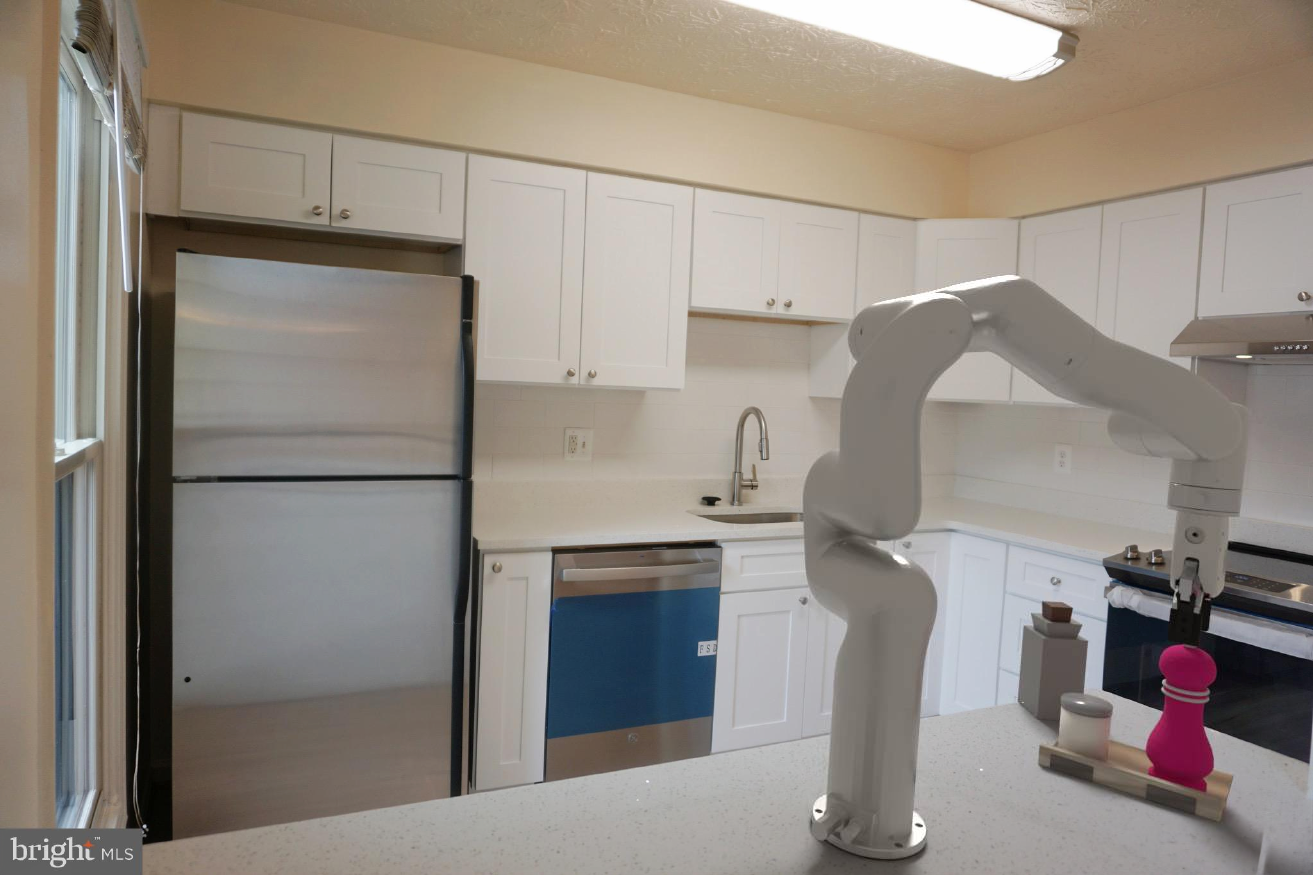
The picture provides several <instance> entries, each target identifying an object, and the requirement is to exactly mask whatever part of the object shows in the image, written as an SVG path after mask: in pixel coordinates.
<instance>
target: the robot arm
mask: <svg viewBox="0 0 1313 875" xmlns="http://www.w3.org/2000/svg"><path fill="white" fill-rule="evenodd" d="M847 344H848V349H849V351H850V354H851V356H852V357H853V359H854V360H855V362H856V363H855V365H854V366H853V368H852V370H851V372H850V373H849V376H848V377H847V381H846V383H845V386H844V389H843V393H842V398H841V404H840V412H839V413H840V414H839V417H840V418H839V448H836V449H835V448H834V449H832V450H829V451H828V452H825V453H823V454H822V455H821V456H819V458H817V459H816V460H815V461H814V462H813V464H812V466H811V467H810V469H809V471H808V472H807V476H806V478H805V482H804V485H803V490H802V519H803V520H802V522H803V523H802V524H803V541H804V542H803V544H804V545H803V547H804V563H805V564H804V565H805V568H804V569H805V574H806V580H807V584H808V587H809V590H810V593H811V595H812V596H813V598H814V599H815V601H816V602H817V603H818V604H819V605H821V606H822V607H823V608H824V609H825V610H826V611H828V612H829V613H831V614H833V615H834V616H836V617H838V618H839V619H841V620H842V621H843V622H845V623H846V626H847V628H846V631H845V636H844V638H843V640H842V643H841V645H840V647H839V650H838V652H837V654H836V659H835V663H834V664H835V665H834V671H833V683H832V684H833V685H832V686H833V688H832V690H833V691H832V692H833V693H832V705H831V706H832V707H831V708H832V709H831V719H830V720H831V722H830V736H829V739H830V740H829V752H828V764H827V765H828V768H827V785H826V794H823V795H821V796H820V797H818V798H817V799H816V800H815V802H814V803H813V804H812V807H811V815H810V816H811V823H812V824H811V830H810V831H811V833H812V835H813V836H814V838H815V839H817V840H819V841H825V840H826V841H827V842H829V843H830V844H832V845H834V846H836V847H837V848H839V849H841V850H844V851H846V852H848V853H851V854H854V855H858V856H861V857H865V858H866V857H867V858H871V859H879V860H896V859H897V860H898V859H902V858H907V857H911V856H913V855H915V854H917V853H919V852H920V851H921V850H922V849H923V848H925V845H926V843H927V835H928V828H927V825H926V823H925V822H924V820H923V818H922V817H921V816H920V815H919V813H917V812H916V811H915V810H914V809H915V808H914V807H915V805H914V804H915V796H916V795H915V793H916V782H917V781H916V779H917V766H918V752H919V751H918V750H919V740H920V738H919V737H920V726H921V713H922V695H923V682H924V681H923V680H924V670H925V664H926V658H927V651H928V646H929V643H930V639H931V636H932V632H933V629H934V627H935V626H934V625H935V623H936V618H937V613H938V601H939V600H938V595H937V594H938V593H937V590H936V587H935V584H934V582H933V580H932V578H931V577H930V575H929V574H928V572H927V571H926V570H925V569H924V568H923V567H922V566H921V565H919V564H918V563H916V562H915V561H913V560H912V559H911V558H909V557H907V556H905V555H902V554H900V553H898V552H895V551H893V550H890V549H887V548H885V547H882V546H879V545H877V544H878V543H877V542H878V541H880V542H894V541H895V542H896V541H899V540H903V539H904V538H906V537H907V536H909V535H910V534H912V532H913V531H914V530H915V529H916V527H917V525H918V524H919V522H920V518H921V515H922V508H923V506H922V505H923V504H922V503H923V502H922V501H923V499H922V498H923V494H922V493H923V491H922V489H923V488H922V485H923V484H922V483H923V482H922V456H921V454H922V453H921V425H922V424H921V422H922V414H923V407H924V405H925V404H924V403H925V401H926V399H927V397H928V395H929V392H930V391H931V389H932V388H933V386H934V385H935V383H936V382H937V381H938V379H939V378H940V377H941V376H942V375H943V374H944V373H945V372H946V371H947V370H948V369H950V368H951V367H952V366H953V365H954V364H955V363H956V362H958V361H959V360H960V359H961V358H962V357H963V355H964V354H965V353H967V354H968V353H984V352H989V353H992V354H995V355H996V356H998V357H1000V359H1003V360H1004V361H1005V362H1006V363H1008V364H1010V365H1011V366H1013V367H1014V368H1016V369H1017V370H1018V371H1020V372H1021V373H1023V374H1024V375H1026V376H1027V377H1029V378H1030V379H1031V380H1033V381H1034V382H1035V383H1036V384H1038V385H1039V386H1041V387H1042V388H1044V389H1045V390H1046V391H1048V392H1049V393H1050V394H1052V395H1054V396H1055V397H1058V398H1061V399H1063V400H1066V401H1069V402H1072V403H1075V404H1079V405H1081V406H1085V407H1091V408H1095V409H1099V410H1105V411H1109V412H1110V413H1109V415H1108V418H1107V424H1106V428H1107V432H1108V433H1107V434H1108V435H1109V438H1110V439H1111V441H1112V442H1113V443H1114V444H1115V445H1116V447H1118V448H1120V449H1121V450H1123V451H1124V452H1127V453H1129V454H1132V455H1136V456H1137V455H1138V456H1143V457H1151V458H1152V457H1153V458H1160V459H1161V458H1162V459H1165V458H1166V459H1171V464H1170V474H1169V483H1168V492H1167V502H1166V509H1168V510H1173V511H1175V512H1176V516H1175V526H1174V531H1173V532H1174V533H1173V541H1172V550H1171V551H1172V552H1171V561H1170V562H1171V563H1170V578H1169V579H1170V580H1169V583H1170V584H1169V585H1170V587H1171V589H1173V590H1174V594H1173V598H1172V604H1171V607H1170V608H1169V609H1170V610H1169V618H1168V627H1167V628H1168V629H1167V635H1166V638H1167V640H1168V641H1169V642H1173V643H1177V644H1180V645H1183V644H1185V645H1190V646H1195V647H1196V646H1197V647H1198V646H1199V645H1200V641H1201V640H1200V639H1201V632H1204V633H1206V632H1208V631H1209V630H1210V623H1211V613H1212V605H1213V601H1212V600H1211V598H1216V597H1218V596H1219V595H1220V594H1221V593H1222V591H1223V590H1224V588H1225V580H1226V578H1225V577H1226V568H1227V567H1226V566H1227V556H1228V547H1229V535H1230V534H1229V533H1230V518H1239V517H1240V516H1241V506H1242V497H1243V496H1242V495H1243V486H1244V478H1245V470H1246V462H1247V453H1248V452H1247V451H1248V444H1249V435H1250V426H1251V412H1250V410H1249V408H1248V407H1247V406H1245V404H1244V405H1243V404H1240V403H1237V402H1231V401H1230V399H1229V398H1228V397H1227V396H1226V395H1225V394H1223V393H1222V392H1221V391H1220V390H1219V389H1217V388H1216V387H1214V386H1213V385H1212V384H1210V383H1209V382H1208V381H1206V379H1204V378H1203V377H1201V376H1200V375H1198V374H1197V373H1195V372H1193V371H1191V370H1190V369H1187V368H1186V367H1184V366H1182V365H1179V364H1177V363H1174V362H1173V361H1170V360H1168V359H1165V358H1162V357H1159V356H1157V355H1154V354H1152V353H1149V352H1147V351H1145V350H1141V349H1139V348H1137V347H1135V346H1132V345H1130V344H1127V343H1124V342H1120V341H1117V340H1115V339H1112V338H1110V337H1108V336H1106V335H1105V334H1104V333H1102V332H1101V331H1099V330H1098V329H1096V328H1095V327H1094V326H1093V325H1092V324H1090V323H1089V322H1087V321H1086V320H1085V319H1083V318H1082V317H1080V316H1079V315H1078V314H1077V313H1075V312H1074V311H1073V310H1071V309H1070V308H1069V307H1067V306H1066V305H1065V304H1064V303H1062V302H1061V301H1060V300H1058V299H1057V298H1056V297H1054V296H1053V295H1052V294H1050V293H1049V292H1048V291H1046V290H1045V289H1044V288H1042V286H1039V285H1038V284H1037V283H1035V282H1033V281H1032V280H1030V279H1028V278H1025V277H1022V276H1018V275H1003V276H996V277H991V278H986V279H985V278H984V279H979V280H975V281H968V282H964V283H960V284H956V285H952V286H949V287H945V288H941V289H937V290H933V291H929V292H924V293H920V294H919V293H918V294H916V295H910V296H906V297H900V298H896V299H890V300H886V301H885V300H884V301H881V302H875V303H873V304H871V305H869V306H866V307H865V308H863V309H862V310H861V311H860V312H859V313H857V315H856V316H855V317H854V319H853V320H852V322H851V324H850V326H849V329H848V334H847ZM1197 647H1196V648H1197Z"/></svg>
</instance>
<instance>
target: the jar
mask: <svg viewBox="0 0 1313 875" xmlns="http://www.w3.org/2000/svg"><path fill="white" fill-rule="evenodd" d="M1113 713H1114V706H1113V704H1112V703H1111V702H1109V701H1108V700H1107V699H1104V698H1101V697H1098V696H1095V695H1092V694H1087V693H1084V694H1082V693H1065V694H1063V695H1062V696H1061V715H1060V720H1059V727H1058V739H1057V741H1058V748H1061V749H1064V750H1067V751H1070V752H1074V753H1077V754H1080V755H1084V756H1087V757H1090V758H1093V759H1097V760H1100V761H1103V762H1107V761H1108V750H1109V740H1110V736H1111V726H1112V725H1111V724H1112V716H1113Z"/></svg>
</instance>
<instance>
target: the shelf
mask: <svg viewBox="0 0 1313 875" xmlns="http://www.w3.org/2000/svg"><path fill="white" fill-rule="evenodd" d="M1038 747H1039V749H1038V760H1037V764H1038V765H1041V766H1044V767H1048V768H1049V769H1051V770H1055V771H1059V772H1061V773H1065V774H1068V775H1071V776H1074V777H1077V778H1081V779H1083V780H1087V781H1090V782H1094V783H1096V784H1097V783H1098V784H1101V785H1103V786H1107V787H1110V788H1112V789H1116V790H1119V791H1122V792H1126V793H1129V794H1130V795H1131V794H1132V795H1135V796H1137V797H1142V798H1144V799H1145V800H1149V801H1152V802H1154V803H1158V804H1162V805H1164V806H1167V807H1170V808H1173V809H1176V810H1180V811H1184V812H1187V813H1189V814H1192V815H1197V816H1200V817H1203V818H1207V819H1210V820H1213V821H1216V822H1218V823H1221V821H1222V817H1223V814H1224V811H1225V807H1226V803H1227V799H1228V795H1229V792H1230V789H1231V784H1232V782H1233V778H1234V775H1233V774H1229V773H1226V772H1224V771H1220V770H1216V769H1213V771H1212V772H1211V773H1210V774H1209V775H1207V776H1206V777H1204V778H1203V779H1204V780H1205V781H1206V783H1207V792H1206V793H1205V792H1202V791H1199V790H1195V789H1192V788H1189V787H1185V786H1182V785H1179V784H1176V783H1172V782H1169V781H1166V780H1162V779H1159V778H1156V777H1153V776H1149V775H1148V769H1149V767H1151V766H1153V764H1152V763H1151V761H1150V760H1149V758H1148V757H1147V754H1146V749H1142V748H1138V747H1135V746H1134V745H1133V746H1132V745H1129V744H1125V743H1122V742H1119V741H1114V740H1111V739H1109V750H1108V761H1107V762H1103V761H1100V760H1097V759H1093V758H1090V757H1087V756H1084V755H1080V754H1077V753H1074V752H1070V751H1067V750H1064V749H1061V748H1058V740H1056V742H1054V744H1053V745H1050V744H1047V743H1044V742H1040V744H1039V746H1038Z"/></svg>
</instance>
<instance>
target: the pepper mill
mask: <svg viewBox="0 0 1313 875" xmlns="http://www.w3.org/2000/svg"><path fill="white" fill-rule="evenodd" d="M1158 668H1159V670H1160V672H1161V674H1162V675H1163V676H1164V679H1163V680H1162V682H1161V684H1162V687H1161V689H1160V690H1161V692H1162V693H1163V694H1164V706H1163V710H1162V713H1161V715H1160V718H1159V720H1158V721H1157V723H1156V724H1155V726H1154V728H1153V729H1152V731H1150V734H1149V736H1148V739H1147V742H1146V746H1145V750H1146V754H1147V757H1148V758H1149V760H1150V761H1151V763H1152V764H1153V766H1151V767H1149V769H1148V775H1149V776H1153V777H1156V778H1159V779H1162V780H1166V781H1169V782H1172V783H1176V784H1179V785H1182V786H1185V787H1189V788H1192V789H1195V790H1199V791H1202V792H1205V793H1206V792H1207V783H1206V781H1205V780H1204V779H1203V778H1204V777H1206V776H1207V775H1209V774H1210V773H1211V772H1212V771H1213V770H1214V769H1215V757H1214V751H1213V749H1212V746H1211V743H1210V741H1209V738H1208V735H1207V733H1206V730H1205V725H1204V709H1205V704H1206V703H1207V702H1209V701H1210V697H1209V695H1210V693H1211V691H1210V689H1209V688H1208V687H1209V686H1210V685H1211V684H1213V682H1214V681H1215V680H1216V678H1217V672H1218V671H1217V666H1216V662H1215V660H1214V659H1213V658H1212V656H1211V655H1210V654H1209V653H1207V652H1206V651H1204V649H1203V650H1202V649H1201V648H1198V646H1196V647H1195V646H1190V645H1185V644H1177V645H1171V646H1169V647H1167V648H1165V649H1164V650H1163V651H1162V653H1161V654H1160V658H1159V662H1158Z"/></svg>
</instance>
